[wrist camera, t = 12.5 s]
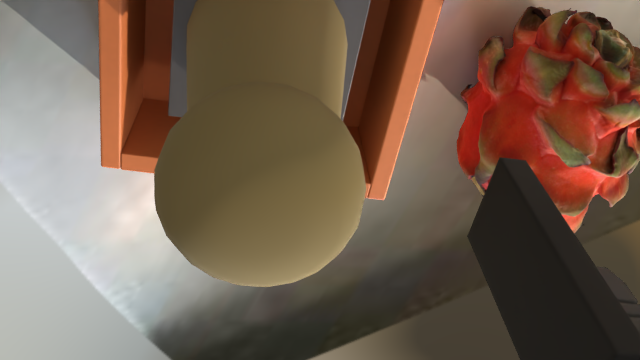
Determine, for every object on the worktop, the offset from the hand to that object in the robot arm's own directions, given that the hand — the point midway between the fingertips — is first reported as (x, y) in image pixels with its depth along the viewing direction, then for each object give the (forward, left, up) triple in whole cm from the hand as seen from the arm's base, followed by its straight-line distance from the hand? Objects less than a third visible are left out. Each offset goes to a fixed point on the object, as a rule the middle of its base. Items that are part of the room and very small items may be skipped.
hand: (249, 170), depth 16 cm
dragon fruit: (+14, -3, -14) cm, 20 cm away
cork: (0, 0, -9) cm, 9 cm away
